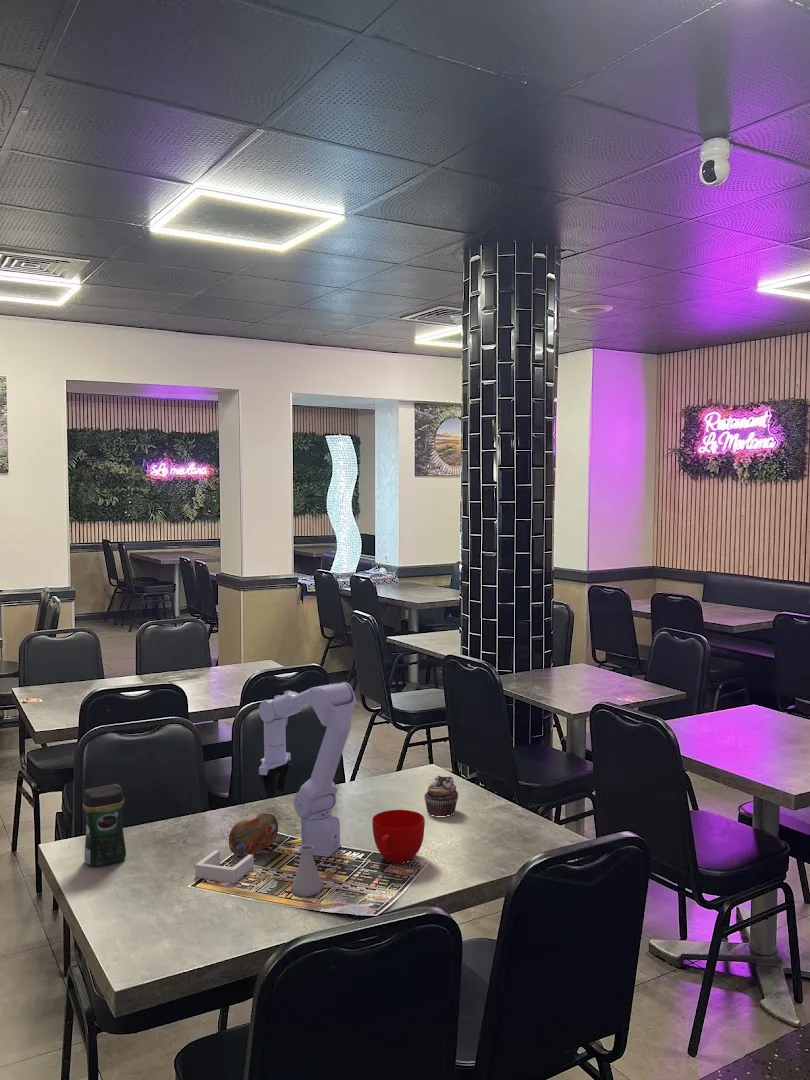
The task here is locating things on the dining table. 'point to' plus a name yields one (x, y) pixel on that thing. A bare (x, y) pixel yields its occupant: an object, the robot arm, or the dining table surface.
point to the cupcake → (441, 797)
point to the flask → (307, 874)
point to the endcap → (222, 868)
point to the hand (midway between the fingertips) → (275, 793)
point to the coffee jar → (104, 825)
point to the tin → (253, 834)
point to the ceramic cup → (398, 834)
